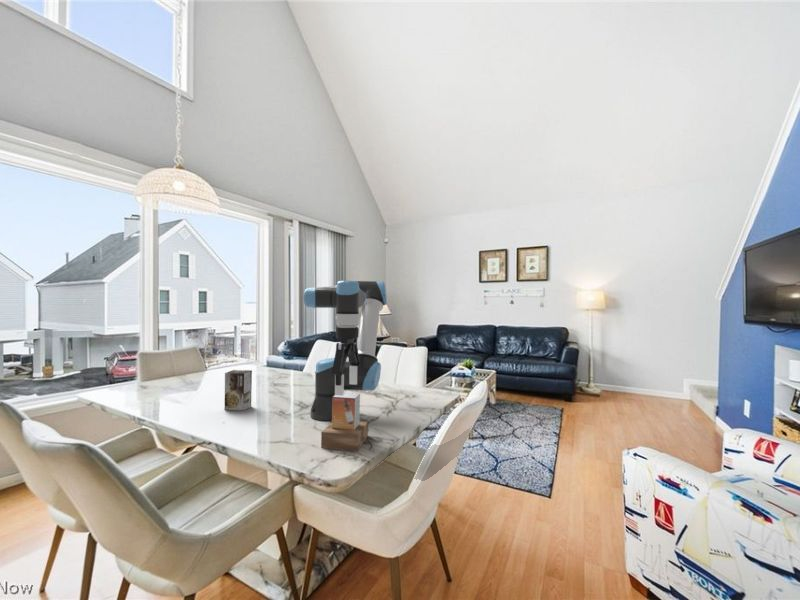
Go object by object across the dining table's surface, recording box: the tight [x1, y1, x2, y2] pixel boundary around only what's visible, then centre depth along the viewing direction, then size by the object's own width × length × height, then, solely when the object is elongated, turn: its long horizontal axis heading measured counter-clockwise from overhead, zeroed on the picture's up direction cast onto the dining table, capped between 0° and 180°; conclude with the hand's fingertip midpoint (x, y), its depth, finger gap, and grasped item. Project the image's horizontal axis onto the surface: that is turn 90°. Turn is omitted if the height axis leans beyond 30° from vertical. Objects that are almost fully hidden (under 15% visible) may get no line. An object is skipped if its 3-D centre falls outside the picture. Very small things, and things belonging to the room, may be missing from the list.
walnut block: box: [320, 420, 369, 452], centre depth 108 cm, size 12×12×5 cm
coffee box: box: [224, 369, 253, 411], centre depth 142 cm, size 9×6×16 cm
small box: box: [331, 392, 361, 430], centre depth 108 cm, size 8×6×10 cm
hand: (346, 389), depth 109 cm, fingers open, 13 cm apart
